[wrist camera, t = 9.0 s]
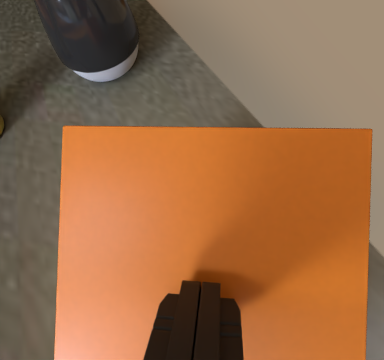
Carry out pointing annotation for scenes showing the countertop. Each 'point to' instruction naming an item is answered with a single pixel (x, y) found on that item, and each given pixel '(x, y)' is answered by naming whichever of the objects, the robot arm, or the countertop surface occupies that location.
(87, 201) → the lid
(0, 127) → the vase
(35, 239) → the countertop surface
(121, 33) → the dark rounded cone
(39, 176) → the countertop surface
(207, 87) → the countertop surface
